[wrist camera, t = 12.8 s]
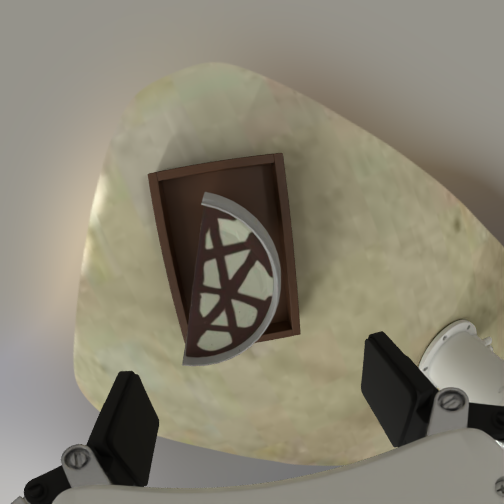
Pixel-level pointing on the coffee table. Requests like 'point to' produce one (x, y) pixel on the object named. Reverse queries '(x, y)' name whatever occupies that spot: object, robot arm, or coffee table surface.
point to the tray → (189, 224)
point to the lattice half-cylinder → (230, 283)
